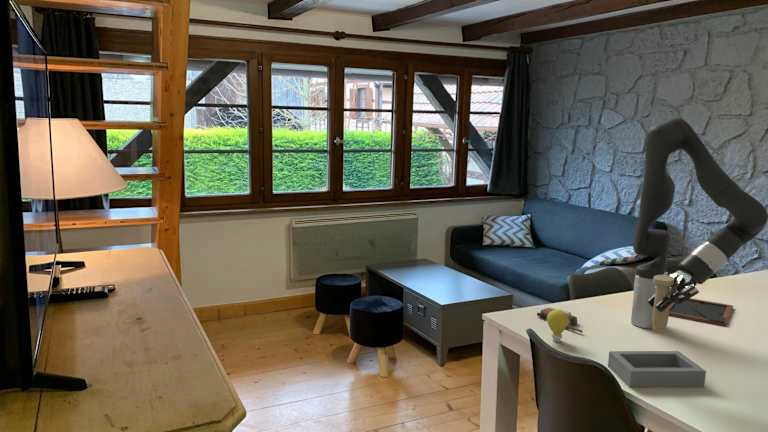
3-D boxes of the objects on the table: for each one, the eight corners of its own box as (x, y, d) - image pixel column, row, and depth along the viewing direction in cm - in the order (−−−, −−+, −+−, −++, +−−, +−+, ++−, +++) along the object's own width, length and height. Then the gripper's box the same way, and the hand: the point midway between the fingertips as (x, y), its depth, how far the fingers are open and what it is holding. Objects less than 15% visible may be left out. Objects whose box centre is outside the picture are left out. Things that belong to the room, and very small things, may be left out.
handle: (670, 330, 153) (675, 276, 150) (667, 337, 147) (672, 282, 145) (651, 326, 155) (656, 273, 153) (647, 333, 150) (651, 279, 148)
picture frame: (725, 328, 193) (732, 310, 213) (725, 322, 192) (733, 304, 212) (661, 316, 204) (674, 299, 224) (662, 310, 204) (674, 294, 224)
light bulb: (542, 336, 181) (544, 306, 180) (562, 336, 182) (564, 306, 180) (550, 344, 175) (552, 313, 173) (571, 344, 175) (573, 313, 174)
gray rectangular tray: (676, 365, 160) (678, 351, 160) (704, 387, 147) (706, 370, 147) (607, 366, 159) (609, 351, 159) (629, 387, 147) (630, 371, 146)
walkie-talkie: (532, 318, 199) (579, 336, 183) (532, 306, 198) (580, 323, 182) (548, 314, 204) (596, 331, 188) (549, 302, 203) (597, 318, 187)
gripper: (678, 247, 155) (632, 289, 157) (710, 259, 141) (658, 306, 143) (695, 265, 156) (649, 307, 158) (728, 279, 142) (677, 325, 144)
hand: (654, 306), depth 150 cm, fingers closed on handle, 3 cm apart
